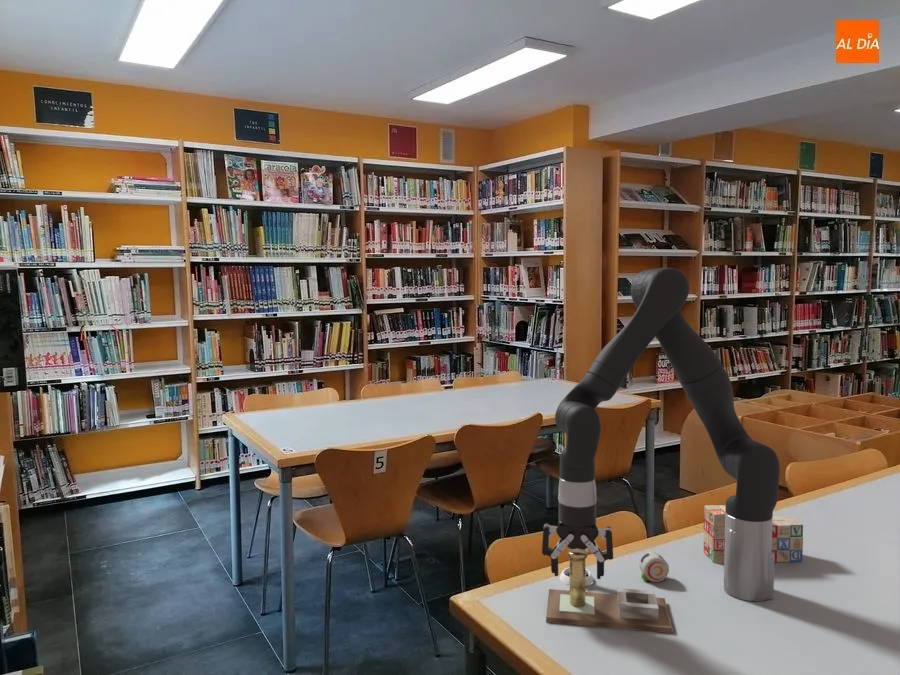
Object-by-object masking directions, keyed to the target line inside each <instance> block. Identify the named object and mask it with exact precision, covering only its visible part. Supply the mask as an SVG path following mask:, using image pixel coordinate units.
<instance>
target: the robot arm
mask: <svg viewBox="0 0 900 675" xmlns="http://www.w3.org/2000/svg"><path fill="white" fill-rule="evenodd" d="M689 294H690V283H689V281H688V278H687V276H686V275H685V273H683V272H682V271H681V270H679V269H676V268H675V267H674V268H673V267H658V268H650V269H645V270H643V271H640V272H638V273H636V275H635V276H634V277H633V279H632V281H631V284H630V296H631V300H632V302H633V304H634V306H635V307H636V311H635V312H634V314H633V315H632V317H631V318H630V319H629V321H628V322H627V323H626V325H624V327H622V329H621V330H620V331H619V332H618V333H617V334H616V335H615V336H614V337H613V338H612V339H610V340H609V342H608V343H606V345H605V346H603V348H602V349H601V350H600V352H599V353H598V354H597V355H596V357H595V359H594V360H593V362H592V363H591V365H590V366H589V368H588V370H587V371H586V372H585V375H584V377H583V378H582V379H581V380H580V381H579V382H578V383H577V384H575V386H573V387H572V389H571V390H570V391H569V392H568V393H567V394H566V395H565V396H564V398H563V399H561V401H560V403H558V406H557V408H556V411H555V413H554V423H555V425H556V426H557V428H558V429H559V430H560V432H562V433H564V434H566V435H567V440H566V448H564V449H562V450H561V452H560V455H559V482H558V495H557V499H558V524H557V525H550V523H548V522H545V523H544V525H543V529H542V546H541V554H542V556H547V557H549V558H550V560H551V561H550V562H551V563H550V567H551V568H550V570H551V573H552V574H554V576H555V577H558V576H559V555H560V554H561V553H562V552H564V551H565V549H566V548H569V549H576V548H578V549H581V550H585V549H586V548H589V551H590V553H591V554H593V556H594V557H595V558H596V579H597V580H601V579H602V577H604V575H605V562H606V561H608V560H610V561H611V560H613V559H614V548H613V546H614V545H613V544H614V543H613V533H612V532H613V531H612V527H611V526H606V527H604V528H598V527H597V485H596V461H595V459H596V454H597V451H598V447H599V442H600V439H601V438H600V437H601V430H602V429H601V427H602V426H601V424H602V423H601V420H600V415H599V414H598V412H597V411H596V410H597V409H596V408H597V407H598V406H599V405H600V404H601V403H603V402H608V401H610V400H612V398H613V397H614V396H615V395H616V393H617V391H618V390H619V389H620V387H621V386H622V384H623V382H624V380H625V379H626V378H627V376H628V374H629V373H630V371H631V370H632V368H633V366H634V365H635V364H636V362H637V361H638V360H639V358H640V357H641V355H643V353H644V351H645V350H646V349H647V348H648V346H649V345H650V344H651V343H652V341H653V340H654V339H655V338H656V340H658V343H659V344H660V347H661V348H662V351H663V352H664V355H665V357H666V358H667V360H668V361H669V364H670V366H671V367H672V370H673V371H674V373H675V376H676V378H677V380H678V382H679V383H680V385H681V388H682V389H683V391H684V394H686V397H687V398H688V399H689V401H690V404H691V405H692V407H693V409H694V410H695V412H696V414H697V416H698V418H699V419H700V420H701V422H702V424H703V426H704V428H705V429H706V431H707V433H708V434H707V435H708V436H709V438H710V441H711V443H712V446H713V449H714V451H715V455H716V456H717V457H716V458H717V460H718V462H719V464H720V466H721V468H722V469H723V471H725V473H726V474H728V476H730V477H732V478H733V479H735V480H736V488H735V495H730V496H729V497H728V498H727V497H726V498H727V499H726V500H725V505H726V506H725V553H724V563H723V564H724V565H723V566H724V567H723V589H724V591H725V592H726V593H727V594H728V595H730V596H732V597H734V598H737V599H739V600H744V601H747V602H762V601H766V600H774V596H775V595H774V594H775V592H774V590H775V562H774V560H775V557H774V554H773V553H772V519H773V518H772V517H773V516H774V514H773V513H774V510H775V508H776V507H777V503H778V497H779V486H780V473H781V472H780V468H781V467H780V461H779V457H778V454H777V452H775V450H774V449H773V448H771V447H770V446H768V445H766V444H764V443H761V442H759V441H757V440H755V439H752V437H750V435H749V434H748V432H747V431H746V429H745V428H744V426H743V424H742V423H741V421H740V419H739V417H738V415H737V412H736V409H735V406H734V405H735V404H734V390H733V385H732V382H731V379H730V376H729V374H728V373H727V371H726V369H725V367H724V365H723V363H722V361H721V359H720V358H719V356H718V355H717V353H716V351H714V349H713V348H712V347H711V346H710V345H709V344H708V343H707V342H706V341H705V340H704V339H703V338H702V337H701V336H700V335H699V334H698V333H697V332H696V331H695V330H694V329H693V328H692V326H690V324H689V323H688V321H687V320H686V319H685V316H684V315H683V314H682V312H681V308H682V307H683V306H684V304H685V303H686V302H687V300H688V296H689ZM555 533H556V534H557V535H558V537H559V539H558V541H557V543H556V544H555V545H554V547H553V548H551V547H550V546H549V545H550V544H549V543H550V537H553V535H554V534H555ZM599 536H601V539H602V540H603V541H605V546H606V550H605V551H602V549H601V548H600V547H599V545H598V543H597V542H596V541H595V540H596V539H597V538H598V537H599Z"/></svg>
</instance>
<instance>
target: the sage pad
mask: <svg viewBox="0 0 900 675" xmlns="http://www.w3.org/2000/svg"><path fill="white" fill-rule="evenodd" d="M559 612H567V613H578V614H590V615H595V608H594V597H591V596H586V605H585V606H584V607H574V606H572V605H570V595H566V594H560V607H559Z"/></svg>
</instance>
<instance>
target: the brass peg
mask: <svg viewBox="0 0 900 675" xmlns="http://www.w3.org/2000/svg"><path fill="white" fill-rule="evenodd" d="M567 557H568V558H569V567H570V573H569V577H570V586H569V591H570V605H572V606H574V607H584V606H585V605H586V592H587V591H586V589H587V588H586V587H587V586H586V581H585V578H586V575H585V569H586V559H588V553H587V551H586V550H581V549H578V548H576V549H570V548H569V549H568V550H567Z"/></svg>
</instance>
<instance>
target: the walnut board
mask: <svg viewBox="0 0 900 675" xmlns="http://www.w3.org/2000/svg"><path fill="white" fill-rule="evenodd" d="M560 594H566V595H570V590H568V589H567V590H565V589H553V588H549V589H548V595H547V596H548V597H547V606H546V613H545V614H546V616H545V622H547V623H554V624H566V625H567V624H568V625H576V626H577V625H579V626H588V627H598V626H599V628H610V627H611V629H622V630H623V629H624V630H632V631H633V630H634V631H645V632H656V633H657V632H658V633H668V634H673V626H672V622H671V618H670V614H669V610H668V606H667V603H666V602H667V601H666V598H665V597H657V596H656V592H655V590H647V589H635V588H634V589H631V588H623V587H622V588H621V587H620V588H619V587H617V593H616V594H615V593H614V594H613V593H607V592H606V593H603V592H591V591H586V596H591V597H594V608H595V615H590V614H578V613H567V612H559V607H560Z"/></svg>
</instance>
